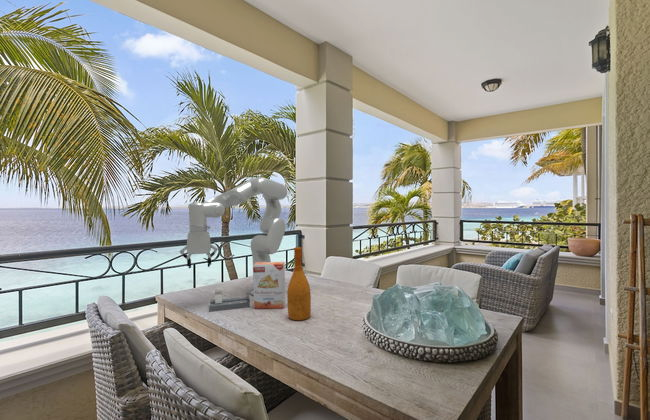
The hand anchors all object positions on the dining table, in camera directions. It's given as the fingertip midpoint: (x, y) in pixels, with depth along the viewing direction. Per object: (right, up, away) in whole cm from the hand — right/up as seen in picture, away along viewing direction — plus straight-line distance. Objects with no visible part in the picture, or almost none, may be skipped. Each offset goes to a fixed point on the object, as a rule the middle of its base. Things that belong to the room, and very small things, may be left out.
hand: (199, 266), depth 145 cm
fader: (+8, -18, +3) cm, 20 cm away
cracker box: (+32, -19, +2) cm, 38 cm away
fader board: (+13, -19, +4) cm, 24 cm away
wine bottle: (+47, -19, -12) cm, 53 cm away
